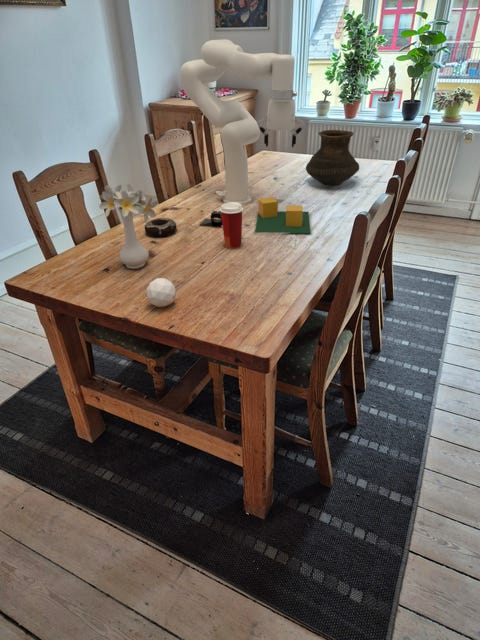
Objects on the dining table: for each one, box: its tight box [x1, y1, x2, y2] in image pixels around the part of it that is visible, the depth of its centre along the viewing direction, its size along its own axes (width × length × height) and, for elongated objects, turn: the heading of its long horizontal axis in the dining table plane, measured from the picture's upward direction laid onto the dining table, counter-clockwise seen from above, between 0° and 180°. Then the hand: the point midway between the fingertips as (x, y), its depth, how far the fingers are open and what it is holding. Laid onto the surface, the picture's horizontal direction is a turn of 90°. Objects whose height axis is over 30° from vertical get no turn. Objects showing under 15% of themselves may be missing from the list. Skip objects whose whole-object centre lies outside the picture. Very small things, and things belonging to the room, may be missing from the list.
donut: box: [144, 217, 177, 238], centre depth 163 cm, size 12×12×4 cm
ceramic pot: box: [305, 129, 360, 187], centre depth 202 cm, size 24×24×22 cm
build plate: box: [198, 210, 223, 229], centre depth 168 cm, size 12×7×5 cm, turn 74°
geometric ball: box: [146, 277, 177, 308], centre depth 119 cm, size 8×8×8 cm
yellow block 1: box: [257, 196, 279, 218], centre depth 173 cm, size 6×6×6 cm
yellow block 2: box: [285, 204, 304, 227], centre depth 164 cm, size 6×6×6 cm
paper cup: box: [219, 202, 244, 249], centre depth 149 cm, size 8×8×14 cm
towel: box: [254, 211, 312, 235], centre depth 168 cm, size 20×22×1 cm
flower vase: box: [98, 183, 159, 270], centre depth 135 cm, size 13×18×25 cm
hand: (279, 146), depth 165 cm, fingers open, 9 cm apart
